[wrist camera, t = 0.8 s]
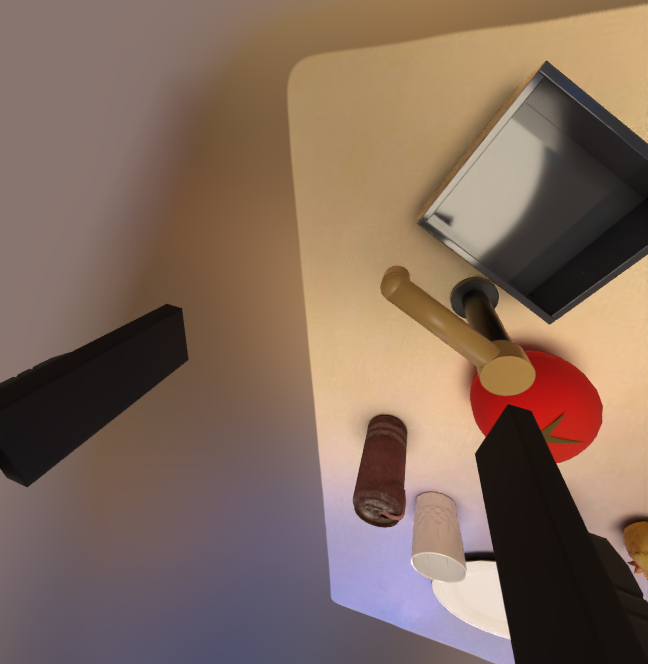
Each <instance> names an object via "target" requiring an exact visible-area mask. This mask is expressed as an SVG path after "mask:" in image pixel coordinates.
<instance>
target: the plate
mask: <svg viewBox="0 0 648 664" xmlns="http://www.w3.org/2000/svg"><path fill="white" fill-rule="evenodd" d="M466 568H467V578H466V579H465V580H464V581H462V582H459V583H443V582H438V581H435V580H432V586H433V592H434V594H435V596H436V597H437V599H438V601H439V602H440V603H441V604H442V605H443V606H444V607H445V608H446V609H447V610H448V611H449V612H451V613H452V614H454V615H455V616H457V617H458V618H460V619H461V620H463V621H464V622H466V623H468V624H470V625H472V626H474V627H476V628H478V629H481V630H483V631H486V632H489V633H491V634H494V635H496V636H500V637H503V638H507V639H510V634H509V628H508V623H507V618H506V613H505V608H504V602H503V597H502V592H501V587H500V582H499V576H498V571H497V566H496V561H495V560H470V561H466Z"/></svg>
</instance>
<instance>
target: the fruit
mask: <svg viewBox="0 0 648 664" xmlns="http://www.w3.org/2000/svg"><path fill="white" fill-rule="evenodd" d="M623 534H624V541H625V545H626V549H627V551H628V554H629V556H630V557H631V558H632V559H633V560H634V561H631V562H627V563H628V564H630V565H633V566H636V567H635V572H634V574H635V573H642V572H644V575H645V577H646V578H647V580H648V522H646V521H641V522H636V523H633V524H631V525H629V526H628V527H626V528H625V530H624V533H623Z"/></svg>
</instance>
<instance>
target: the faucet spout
mask: <svg viewBox="0 0 648 664" xmlns="http://www.w3.org/2000/svg"><path fill="white" fill-rule="evenodd" d="M380 290H381V293H382V295H383V296H384V297H385V298H386V299H387V300H388V301H390V302H391V303H392V304H394V305H395V306H396V307H398V308H399V309H400V310H402V311H403V312H404V313H406V314H407V315H408V316H410V317H411V318H412V319H414V320H415V321H417V322H418V323H419V324H421V325H422V326H423V327H425V328H426V329H427V330H429V331H430V332H431V333H433V334H434V335H435V336H437V337H438V338H439V339H441V340H442V341H443V342H445V343H446V344H447V345H449V346H450V347H451V348H453V349H454V350H455V351H457V352H458V353H459V354H461V355H462V356H464V357H465V358H466V359H468V360H469V361H470V362H472V363H473V364H474V365H476V368H477V372H478V375H479V379H480V382H481V384H482V386H483V387H484V388H485V389H486V390H488V391H489V392H491V393H494V394H497V395H502V396H510V395H516V394H519V393H522V392H524V391H525V390H527V389H528V388H529V387H530V386H531V385H532V384H533V382H534V380H535V369H534V367H533V366H532V364H531V362H530V360H529V359H528V357H527V355H526V354H525V352H524V350H523V349H522V348H521V347H520V346H519V345H518V344H516V343H514V342H511V341H506V340H497V341H493V342H491V341H490V340H488V339H487V338H486V337H484V336H483V335H482V334H480V333H479V332H478V331H476V330H475V329H474V328H472V327H471V326H470V325H468V324H467V323H466V322H465V321H463V320H462V319H461V318H459V317H458V316H457V315H455V314H454V313H453V312H451V311H450V310H449V309H447V308H446V307H445V306H443V305H442V304H441V303H439V302H438V301H437V300H435V299H434V298H433V297H431V296H430V295H429V294H427V293H426V292H425V291H423V290H422V289H421V288H419V287H418V286H417V285H415V284H414V283H413V282H411V281H410V274H409V272H408V270H407V269H406V268H404V267H402V266H392V267H390V268H389V269H388V270H387V271H386V272H385V274H384V277H383V279H382V282H381V286H380Z"/></svg>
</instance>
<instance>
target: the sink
mask: <svg viewBox="0 0 648 664" xmlns="http://www.w3.org/2000/svg"><path fill="white" fill-rule="evenodd" d="M417 224H419V225H420V226H421V227H423V228H424V229H425V230H427V231H428V232H429V233H430V234H432V235H433V236H434V237H436V238H437V239H438V240H440V241H441V242H442V243H443V244H445V245H446V246H447V247H449V248H450V249H451V250H453V251H454V252H455V253H457V254H458V255H459V256H460V257H462V258H463V259H464V260H466V261H467V262H468V263H470V264H471V265H472V266H474V267H475V268H476V269H477V270H479V271H480V272H481V273H483V274H484V275H485V276H487V277H488V278H489V279H491V280H492V281H493V282H494V283H496V284H497V285H498V286H500V287H501V288H502V289H504V290H505V291H506V292H507V293H509V294H510V295H511V296H513V297H514V298H515V299H517V300H518V301H519V302H521V303H522V304H523V305H524V306H526V307H527V308H528V309H530V310H531V311H532V312H534V313H535V314H536V315H538V316H539V317H540V318H541V319H543V320H544V321H545V322H547V323H548V324H552V323H553V322H554V321H555V320H557V319H559V318H560V317H561V316H563V315H564V314H566V313H567V312H568V311H570V310H571V309H572V308H574V307H575V306H577V305H578V304H579V303H581V302H582V301H584V300H585V299H586V298H588V297H589V296H591V295H592V294H593V293H595V292H596V291H597V290H599V289H600V288H602V287H603V286H604V285H606V284H607V283H609V282H610V281H611V280H613V279H614V278H616V277H617V276H618V275H620V274H621V273H622V272H624V271H625V270H627V269H628V268H629V267H631V266H632V265H634V264H635V263H636V262H638V261H639V260H640V259H642V258H643V257H645V256H646V255H647V254H648V143H646V142H645V141H644V140H643V139H641V138H640V137H639V136H638V135H637V134H635V133H634V132H633V131H632V130H631V129H629V128H628V127H627V126H626V125H624V124H623V123H622V122H621V121H620V120H618V119H617V118H616V117H615V116H613V115H612V114H611V113H610V112H609V111H607V110H606V109H605V108H604V107H603V106H601V105H600V104H599V103H598V102H596V101H595V100H594V99H593V98H592V97H590V96H589V95H588V94H587V93H586V92H584V91H583V90H582V89H581V88H579V87H578V86H577V85H576V84H575V83H573V82H572V81H571V80H570V79H568V78H567V77H566V76H565V75H564V74H562V73H561V72H560V71H559V70H558V69H556V68H555V67H554V66H553V65H551V64H550V63H549V62H548V61H545V62H544V63H543V64H542V65H541V66H540V67H539V68H538V69H537V70H536V71H534V72H533V73H532V74H531V75H530V76H529V77H528V78H527V79H526V80H525V81H524V82H522V83H521V84H520V85H519V86H518V87H517V88H516V89H515V91H514V92H513V93H512V94H511V96H510V97H509V98H508V100H507V101H506V102H505V103H504V105H503V106H502V107H501V109H500V110H499V111H498V112H497V114H496V115H495V116H494V117H493V119H492V120H491V121H490V123H489V124H488V125H487V126H486V128H485V129H484V130H483V132H482V133H481V134H480V135H479V137H478V138H477V139H476V141H475V142H474V143H473V144H472V146H471V147H470V148H469V149H468V151H467V152H466V153H465V155H464V156H463V157H462V158H461V160H460V161H459V162H458V164H457V165H456V166H455V167H454V169H453V170H452V171H451V173H450V174H449V175H448V176H447V178H446V179H445V180H444V181H443V183H442V184H441V185H440V187H439V188H438V189H437V190H436V192H435V193H434V194H433V196H432V197H431V198H430V199H429V201H428V202H427V203H426V204H425V206H424V207H423V208H422V210H421V211H420V212H419V213H418V220H417Z"/></svg>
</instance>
